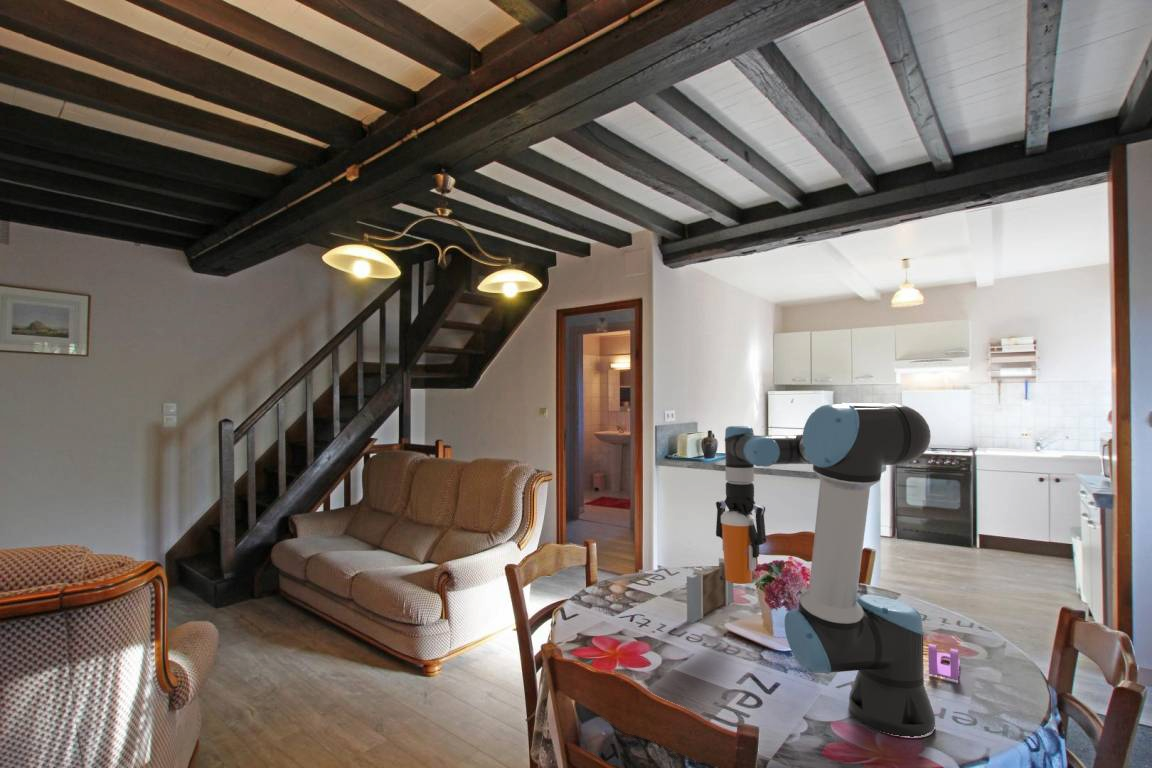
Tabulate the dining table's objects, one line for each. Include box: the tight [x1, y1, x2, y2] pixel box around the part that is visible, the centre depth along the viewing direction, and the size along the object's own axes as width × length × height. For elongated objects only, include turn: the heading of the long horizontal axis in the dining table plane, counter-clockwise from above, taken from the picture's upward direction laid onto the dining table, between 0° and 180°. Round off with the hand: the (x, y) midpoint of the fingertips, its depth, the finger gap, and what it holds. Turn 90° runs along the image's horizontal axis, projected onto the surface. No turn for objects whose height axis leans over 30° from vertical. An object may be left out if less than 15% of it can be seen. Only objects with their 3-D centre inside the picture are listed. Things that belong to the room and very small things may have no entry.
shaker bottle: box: [721, 508, 755, 585], centre depth 150 cm, size 9×9×20 cm
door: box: [703, 565, 725, 616], centre depth 166 cm, size 13×2×12 cm, turn 136°
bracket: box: [928, 643, 961, 680], centre depth 130 cm, size 13×6×7 cm, turn 143°
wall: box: [686, 556, 734, 624], centre depth 166 cm, size 24×3×14 cm, turn 136°
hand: (740, 566), depth 149 cm, fingers open, 6 cm apart
